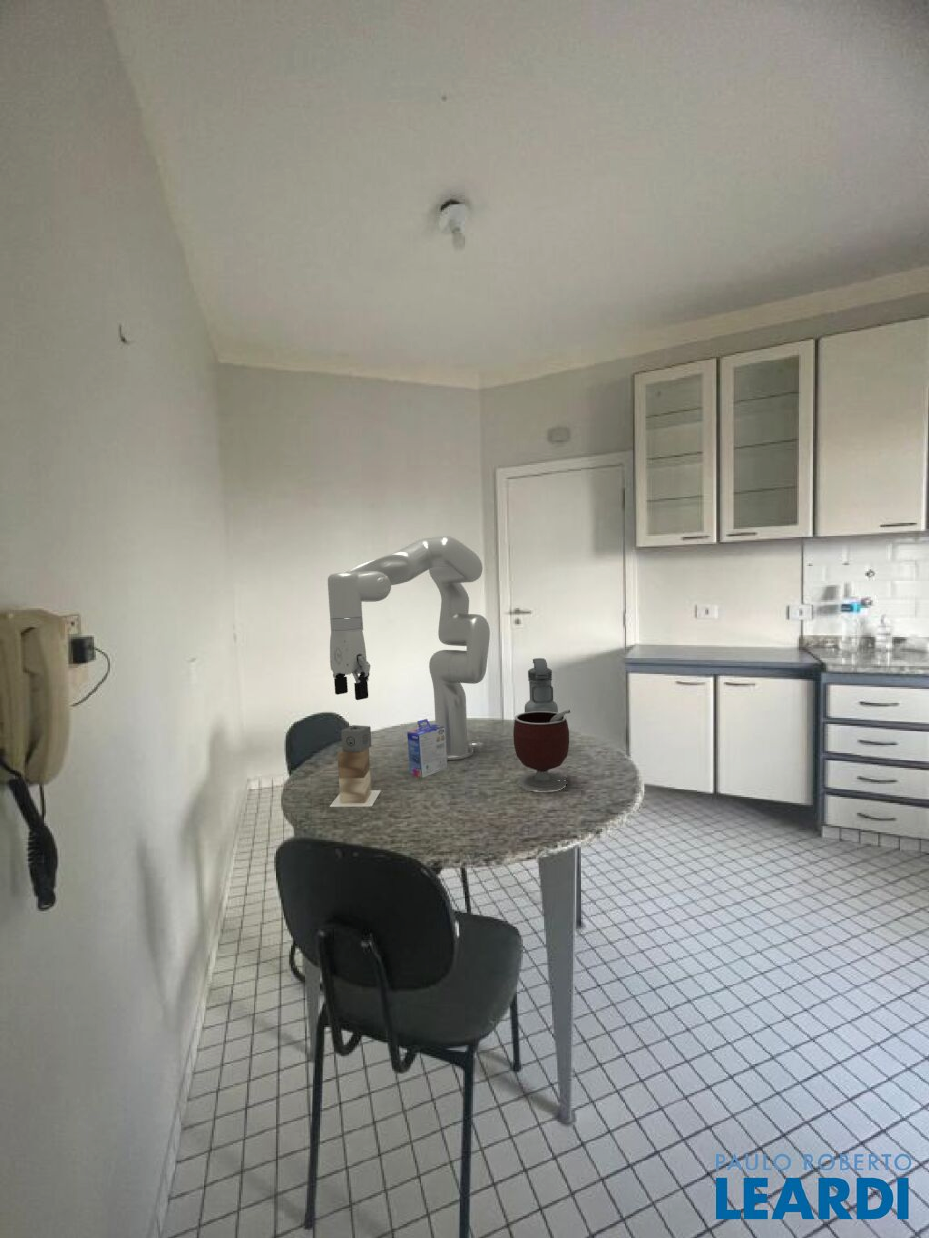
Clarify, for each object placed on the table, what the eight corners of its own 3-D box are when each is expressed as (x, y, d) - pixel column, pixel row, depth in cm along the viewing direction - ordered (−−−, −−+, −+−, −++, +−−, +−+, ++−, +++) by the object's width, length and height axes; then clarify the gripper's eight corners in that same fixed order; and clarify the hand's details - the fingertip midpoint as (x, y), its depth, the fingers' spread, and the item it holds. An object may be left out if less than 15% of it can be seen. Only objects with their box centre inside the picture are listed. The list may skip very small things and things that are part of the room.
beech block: (371, 793, 136) (370, 769, 136) (365, 802, 130) (363, 777, 130) (347, 793, 137) (346, 769, 136) (340, 803, 131) (338, 778, 130)
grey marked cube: (353, 745, 136) (352, 725, 136) (371, 746, 134) (370, 726, 134) (342, 751, 132) (341, 730, 131) (360, 752, 130) (359, 731, 130)
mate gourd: (503, 785, 139) (501, 707, 138) (536, 770, 149) (533, 697, 148) (555, 800, 129) (553, 715, 127) (586, 783, 139) (584, 704, 137)
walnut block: (369, 769, 136) (368, 745, 135) (363, 778, 130) (362, 752, 129) (346, 769, 136) (344, 745, 136) (338, 778, 130) (337, 753, 130)
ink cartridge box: (434, 765, 157) (432, 715, 156) (448, 769, 153) (446, 718, 152) (408, 775, 150) (405, 723, 149) (422, 780, 146) (419, 726, 145)
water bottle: (561, 758, 159) (559, 661, 157) (527, 759, 159) (524, 663, 157) (556, 747, 169) (553, 657, 167) (524, 749, 169) (521, 658, 167)
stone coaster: (381, 792, 138) (381, 790, 138) (371, 808, 128) (371, 806, 128) (342, 792, 139) (342, 790, 139) (329, 809, 129) (329, 806, 129)
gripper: (315, 625, 135) (320, 694, 136) (350, 628, 122) (355, 704, 123) (343, 622, 140) (347, 689, 141) (379, 624, 127) (384, 698, 128)
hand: (351, 696), depth 132 cm, fingers open, 9 cm apart
